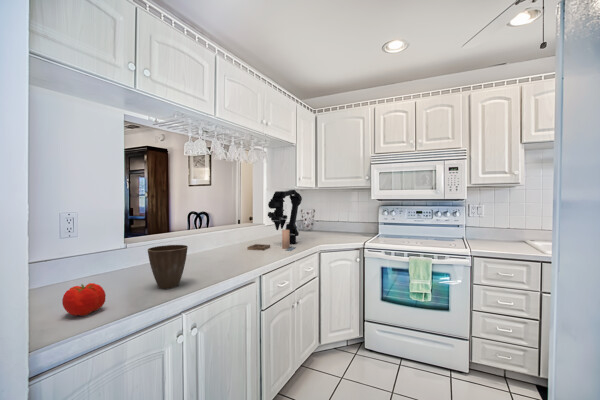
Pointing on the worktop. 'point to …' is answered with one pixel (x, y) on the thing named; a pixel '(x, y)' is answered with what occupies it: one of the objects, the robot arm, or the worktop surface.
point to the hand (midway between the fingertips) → (279, 229)
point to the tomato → (83, 299)
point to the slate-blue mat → (290, 248)
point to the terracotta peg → (285, 239)
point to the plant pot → (167, 264)
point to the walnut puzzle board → (258, 247)
